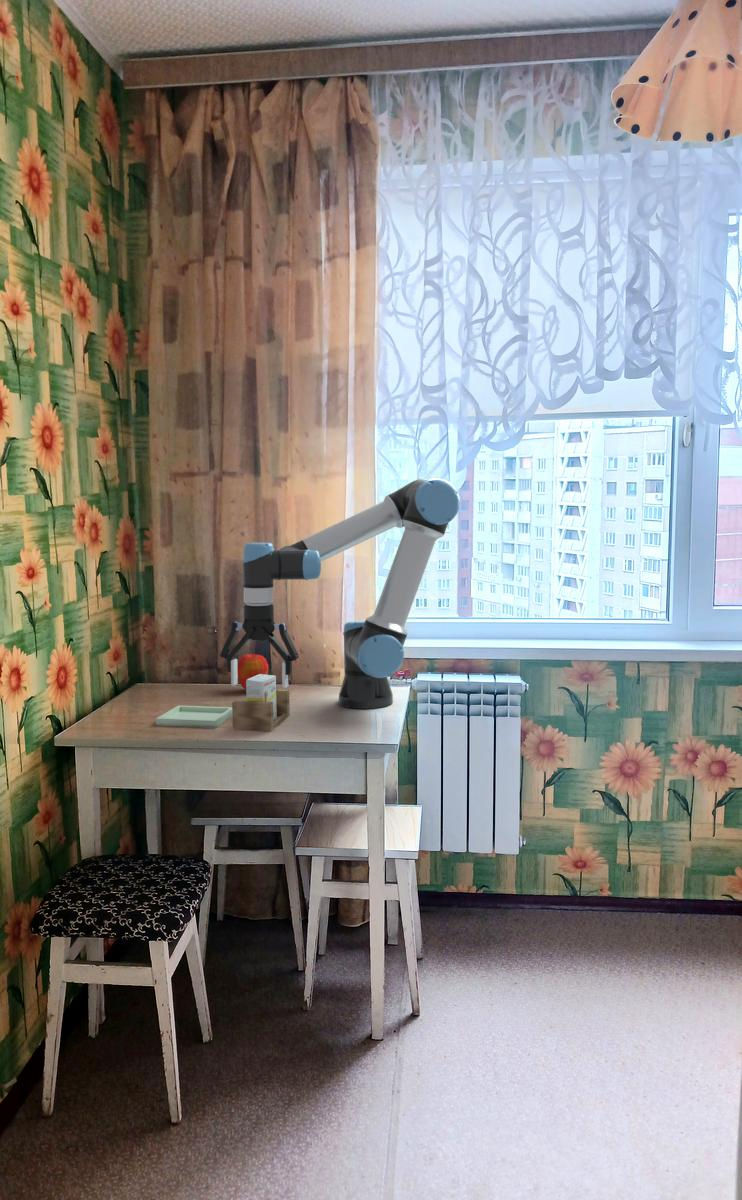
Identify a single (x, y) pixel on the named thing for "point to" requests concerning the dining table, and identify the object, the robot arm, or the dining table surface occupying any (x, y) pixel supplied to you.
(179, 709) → the tray
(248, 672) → the apple
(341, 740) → the dining table surface
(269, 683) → the ink box
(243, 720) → the holder
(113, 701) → the dining table surface
